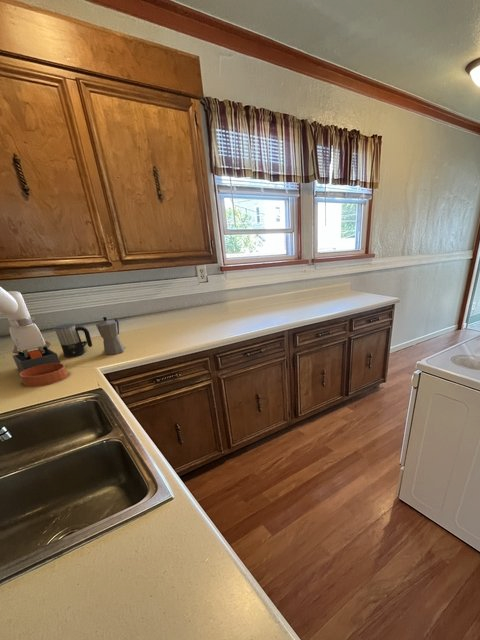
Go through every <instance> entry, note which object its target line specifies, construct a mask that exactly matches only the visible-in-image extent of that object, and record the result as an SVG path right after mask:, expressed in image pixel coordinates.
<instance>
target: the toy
mask: <svg viewBox="0 0 480 640" xmlns="http://www.w3.org/2000/svg"><path fill="white" fill-rule="evenodd" d="M28 355H29V356H30V357H31V359H34V358H38V357H42V354H41V352H40V351H39V349H32V350H28Z"/></svg>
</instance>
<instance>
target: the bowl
mask: <svg viewBox="0 0 480 640" xmlns="http://www.w3.org/2000/svg"><path fill="white" fill-rule="evenodd" d="M68 376H69V372H68V370H67V368H66V365H65V363H61V362H60V363H49V364H42V365H38V366H34V367H31V368H28V369H26V370H24V371H22V372H19V377H20V379H21V381H22V384H23V385H24V386H25V387H41V386H42V387H43V386H48V385H51V384H55V383H58V382H61V381H63V380H65V379H67V377H68Z"/></svg>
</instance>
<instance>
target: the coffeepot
mask: <svg viewBox="0 0 480 640" xmlns="http://www.w3.org/2000/svg"><path fill="white" fill-rule="evenodd" d="M107 318H108V317H106V316H103V317H102V319H103V321H100V322H97V323H96V324H95V326H96V329H97V331H98V333H99V335H100V337H101V338H102V339H103V341H102V342H103V350H104V351H103V352H104V354H105V355H108V356H113V355H118V354H123V353H124V352H125V348H124V346H123V344H122V341H121V340H120V338H119V335H120V324H119V320H118V319H117V318H112V319H110V320H108V319H107Z"/></svg>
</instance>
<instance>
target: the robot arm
mask: <svg viewBox="0 0 480 640" xmlns="http://www.w3.org/2000/svg"><path fill="white" fill-rule="evenodd" d="M0 315H1V316H6V319H7V320H8V323H9V325H10V326H9V327H8V330H9V335H10V337H11V340H12V343H13V346H12V349H11V353H13V354H14V355H18V354H20V355H22V356H24V357H26V360H30V359H31V357H30V356H29V355H28V352H29V351H31V350H35V349H37V350H39V351H40V352H41V354H42V357H43V356H45V354H44V353H45V351H46V350H47V348H48V349H49V347H51V344H52V343H51V342H49V341H48V340H46V339H45V338H44V336H43V335H42V332H41V331H40V329H39V327H38V326H37V324H36V323H35V321H37V318H36V317H32V316H31V314H30V312H29V309H28V306H27V305H26V301H25V300H24V297H23V295H22V293H21V292H20V291H16V290H10V291H9V290H8V291H7V290H6V289H4V288H3V287H2V286H0Z"/></svg>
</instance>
